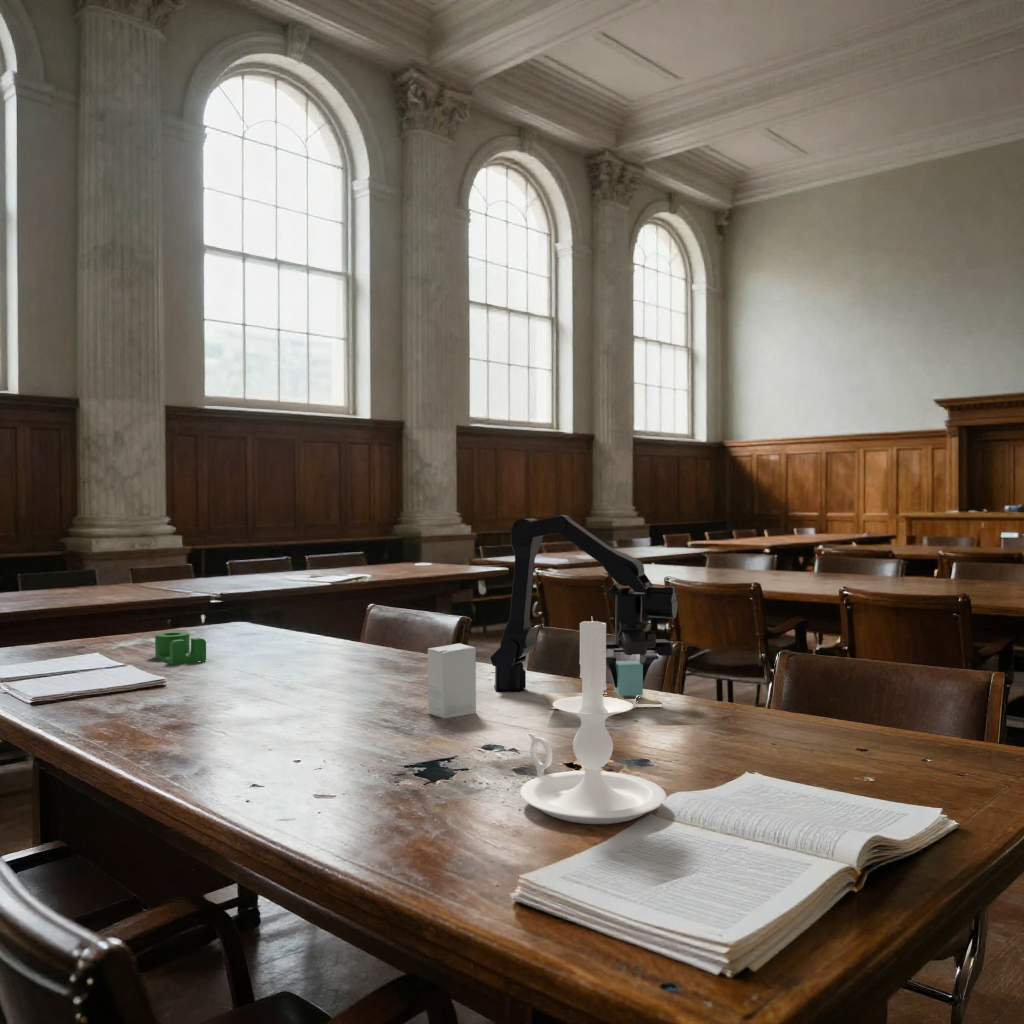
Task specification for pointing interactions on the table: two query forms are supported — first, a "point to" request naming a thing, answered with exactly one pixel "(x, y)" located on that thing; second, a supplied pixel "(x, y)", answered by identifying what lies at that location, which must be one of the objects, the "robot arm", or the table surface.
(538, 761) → the candlestick
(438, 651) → the skincare box
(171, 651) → the slotted cylinder bracket
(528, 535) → the robot arm
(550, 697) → the post stand
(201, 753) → the table surface
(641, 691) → the teal rectangular block
